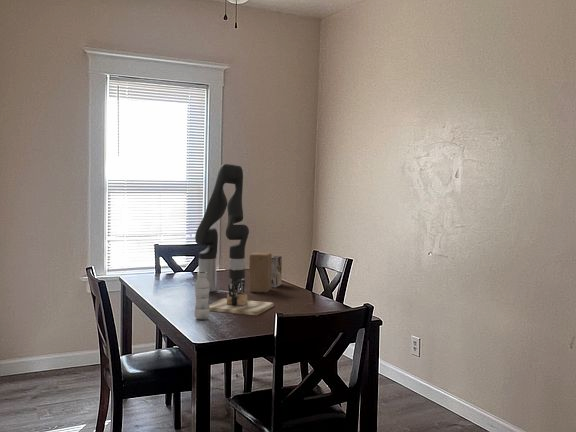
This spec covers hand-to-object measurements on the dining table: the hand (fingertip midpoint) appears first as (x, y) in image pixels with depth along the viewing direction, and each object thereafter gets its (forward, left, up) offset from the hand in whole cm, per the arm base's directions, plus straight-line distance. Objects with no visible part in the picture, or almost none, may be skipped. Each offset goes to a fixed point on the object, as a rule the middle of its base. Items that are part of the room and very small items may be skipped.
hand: (236, 303), depth 270 cm
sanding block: (0, 0, 0) cm, 0 cm away
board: (+2, 0, -2) cm, 2 cm away
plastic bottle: (-4, -25, -2) cm, 26 cm away
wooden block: (-4, +40, -2) cm, 40 cm away
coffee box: (-3, +56, -2) cm, 56 cm away
